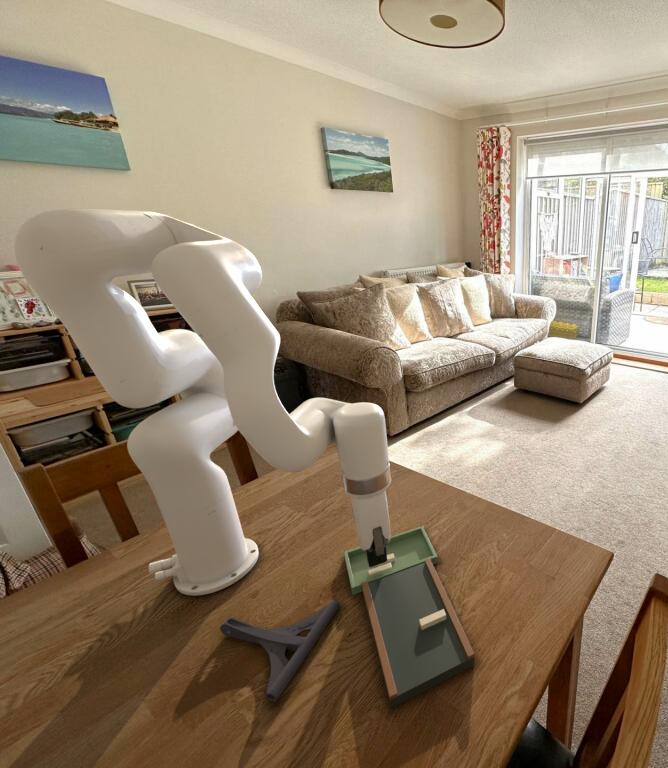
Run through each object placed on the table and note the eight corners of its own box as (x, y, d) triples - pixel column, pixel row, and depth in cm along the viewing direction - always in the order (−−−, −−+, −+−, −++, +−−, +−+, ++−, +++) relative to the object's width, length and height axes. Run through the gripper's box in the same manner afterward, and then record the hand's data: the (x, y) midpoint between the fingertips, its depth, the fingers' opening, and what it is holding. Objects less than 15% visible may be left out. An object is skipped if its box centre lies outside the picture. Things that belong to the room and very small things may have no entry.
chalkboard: (391, 708, 53) (389, 697, 52) (363, 593, 69) (361, 583, 68) (474, 665, 58) (474, 653, 58) (430, 567, 75) (429, 557, 74)
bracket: (260, 592, 69) (257, 580, 68) (340, 608, 66) (338, 596, 65) (182, 680, 56) (176, 667, 55) (278, 703, 53) (273, 690, 52)
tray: (352, 595, 69) (351, 588, 68) (344, 558, 76) (343, 551, 76) (437, 562, 76) (437, 556, 75) (422, 531, 83) (422, 525, 83)
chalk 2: (367, 570, 72) (368, 574, 72) (369, 575, 71) (369, 579, 71) (390, 562, 74) (391, 566, 74) (392, 566, 73) (392, 570, 73)
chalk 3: (421, 630, 61) (421, 626, 61) (419, 624, 62) (418, 619, 62) (446, 619, 63) (446, 614, 63) (443, 613, 64) (443, 608, 64)
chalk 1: (371, 560, 74) (371, 564, 74) (372, 564, 73) (372, 569, 73) (393, 553, 76) (393, 557, 76) (394, 557, 75) (395, 561, 75)
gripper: (336, 459, 71) (349, 541, 77) (349, 510, 59) (363, 601, 65) (380, 449, 74) (388, 529, 81) (401, 495, 62) (409, 583, 69)
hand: (377, 561), depth 73 cm, fingers closed
